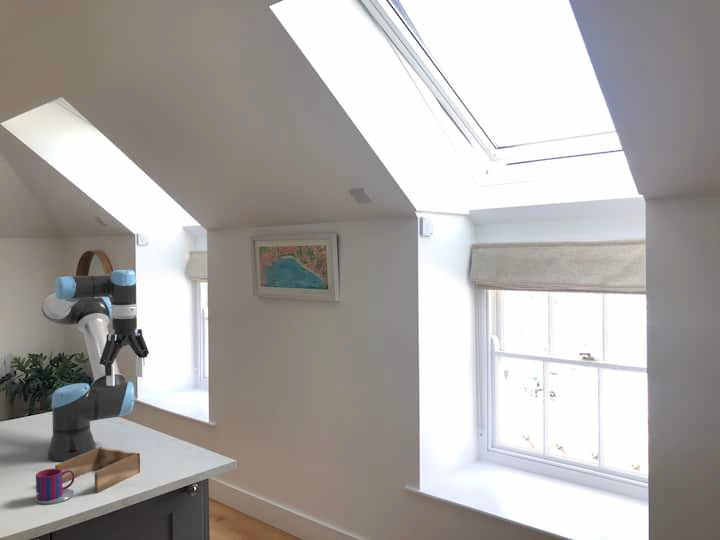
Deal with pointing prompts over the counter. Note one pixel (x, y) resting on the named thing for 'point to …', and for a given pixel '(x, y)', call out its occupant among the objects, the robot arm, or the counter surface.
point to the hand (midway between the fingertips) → (125, 381)
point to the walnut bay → (112, 460)
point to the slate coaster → (65, 496)
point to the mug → (50, 484)
